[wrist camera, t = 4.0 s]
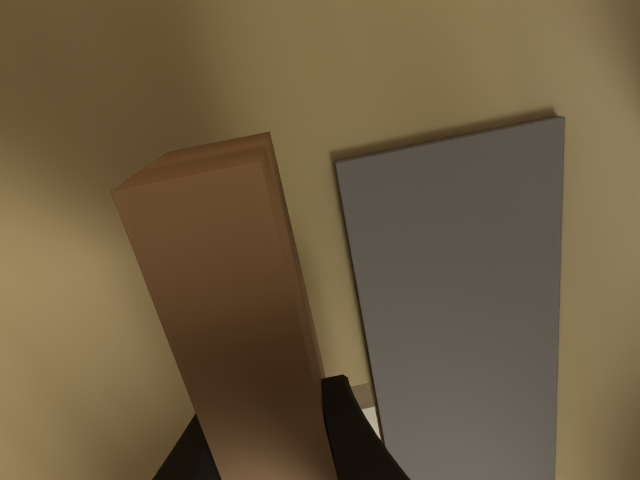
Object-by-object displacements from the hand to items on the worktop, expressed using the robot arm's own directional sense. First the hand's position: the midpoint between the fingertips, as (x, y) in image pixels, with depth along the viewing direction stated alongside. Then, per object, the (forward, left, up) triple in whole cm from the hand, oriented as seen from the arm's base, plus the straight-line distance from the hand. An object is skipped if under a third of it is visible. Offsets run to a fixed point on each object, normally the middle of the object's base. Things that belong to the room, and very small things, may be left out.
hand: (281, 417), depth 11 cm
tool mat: (-7, +4, -6) cm, 10 cm away
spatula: (0, 0, -2) cm, 2 cm away
